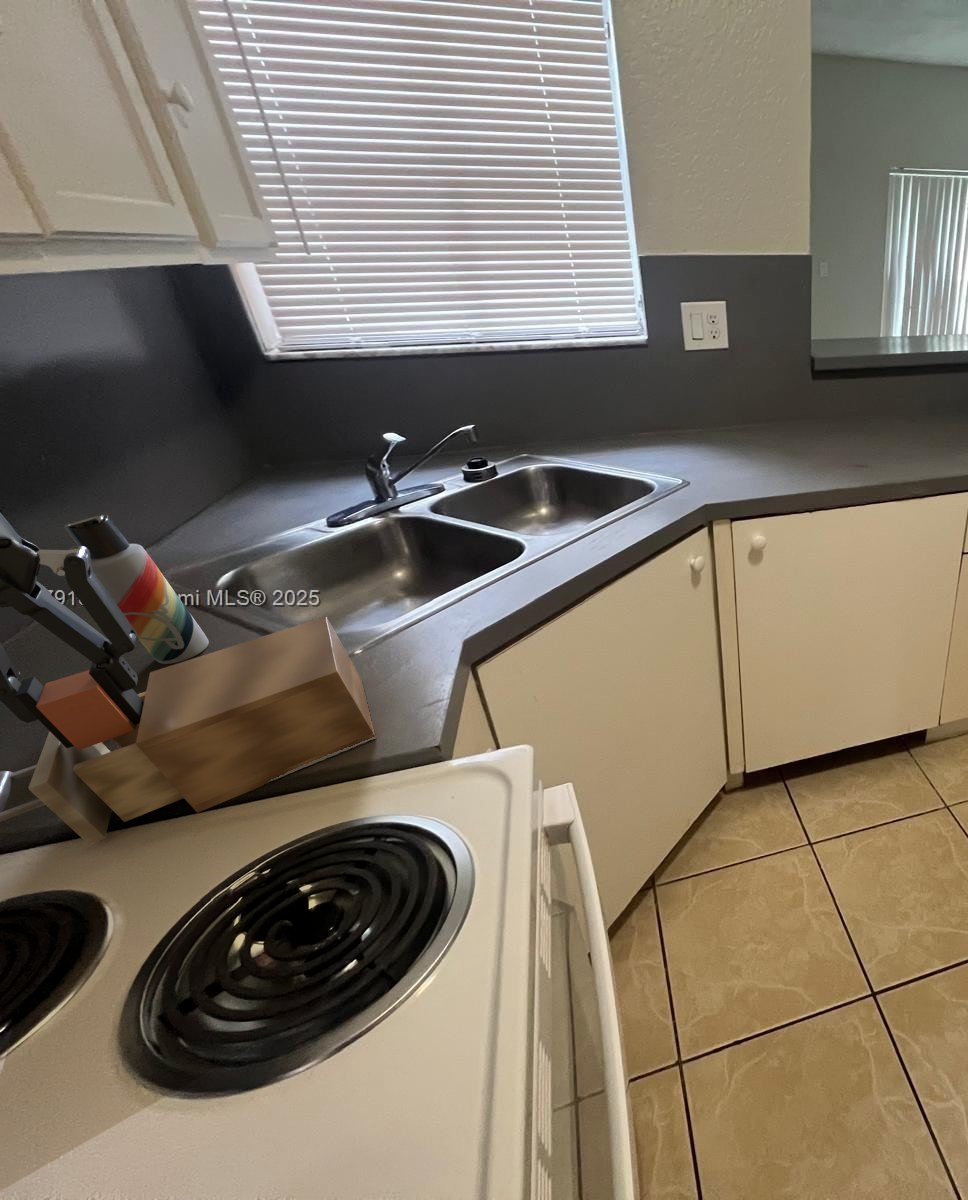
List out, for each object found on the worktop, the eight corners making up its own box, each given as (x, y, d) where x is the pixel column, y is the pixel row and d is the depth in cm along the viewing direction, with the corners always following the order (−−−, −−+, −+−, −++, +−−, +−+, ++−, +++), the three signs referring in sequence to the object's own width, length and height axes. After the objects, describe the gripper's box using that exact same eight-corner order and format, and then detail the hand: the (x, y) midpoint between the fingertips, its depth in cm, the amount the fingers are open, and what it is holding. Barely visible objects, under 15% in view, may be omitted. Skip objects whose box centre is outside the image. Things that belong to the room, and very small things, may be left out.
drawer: (0, 881, 55) (-72, 824, 51) (30, 797, 63) (-30, 742, 59) (277, 768, 65) (236, 713, 61) (273, 707, 73) (237, 655, 69)
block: (78, 750, 58) (35, 706, 55) (85, 726, 60) (45, 683, 57) (135, 730, 60) (96, 687, 57) (139, 707, 62) (103, 665, 59)
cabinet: (197, 813, 62) (135, 743, 57) (202, 738, 71) (149, 672, 65) (376, 739, 70) (337, 671, 64) (362, 679, 78) (326, 615, 73)
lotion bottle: (166, 670, 81) (59, 533, 70) (149, 656, 84) (43, 522, 73) (217, 646, 85) (123, 513, 74) (200, 634, 88) (107, 504, 77)
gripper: (-314, 559, 40) (-32, 797, 53) (51, 486, 49) (218, 708, 62) (-252, 519, 45) (-8, 746, 58) (69, 460, 54) (220, 670, 67)
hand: (108, 726), depth 60 cm, fingers closed on block, 4 cm apart
